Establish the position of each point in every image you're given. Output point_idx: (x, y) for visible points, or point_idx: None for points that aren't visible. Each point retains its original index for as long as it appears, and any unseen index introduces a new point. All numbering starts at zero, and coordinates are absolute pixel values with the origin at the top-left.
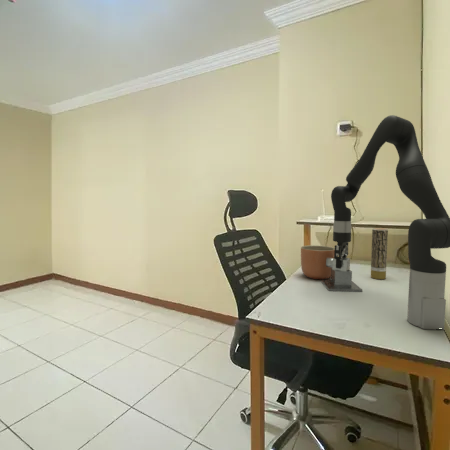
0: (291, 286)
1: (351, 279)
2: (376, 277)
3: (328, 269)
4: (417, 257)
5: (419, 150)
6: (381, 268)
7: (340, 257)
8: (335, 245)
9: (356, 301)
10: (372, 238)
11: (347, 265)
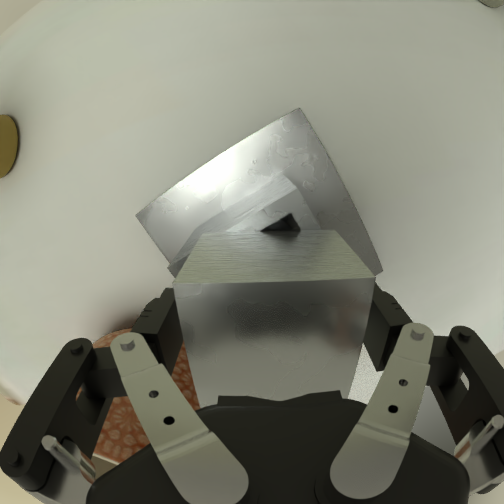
0: (374, 387)
1: (289, 180)
2: (14, 140)
3: (186, 364)
4: None
5: None
6: None
7: (465, 340)
8: (496, 485)
9: (451, 124)
10: None
11: (311, 248)
